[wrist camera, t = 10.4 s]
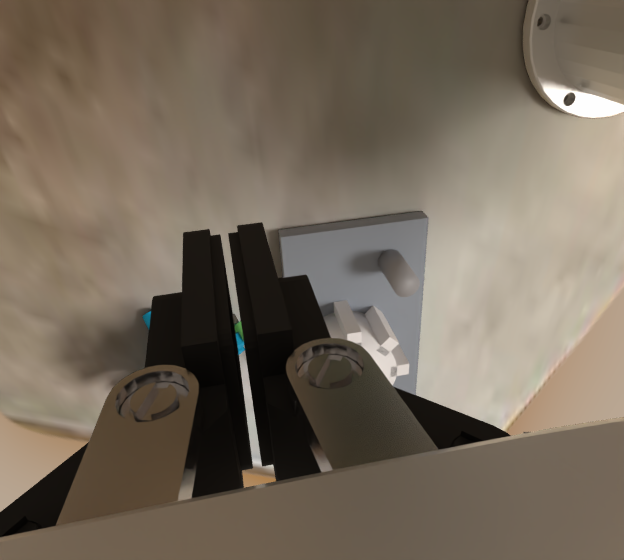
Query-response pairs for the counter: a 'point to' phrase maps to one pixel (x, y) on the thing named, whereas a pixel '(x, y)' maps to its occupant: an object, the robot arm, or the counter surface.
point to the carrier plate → (367, 284)
